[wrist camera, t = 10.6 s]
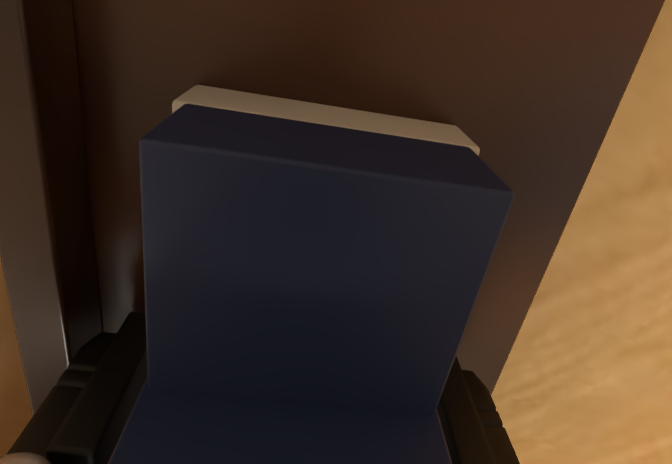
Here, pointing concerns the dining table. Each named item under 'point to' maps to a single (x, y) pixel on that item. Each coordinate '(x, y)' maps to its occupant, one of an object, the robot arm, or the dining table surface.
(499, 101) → the shelf
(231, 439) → the blue stepped block
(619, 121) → the dining table surface
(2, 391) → the dining table surface
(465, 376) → the robot arm
